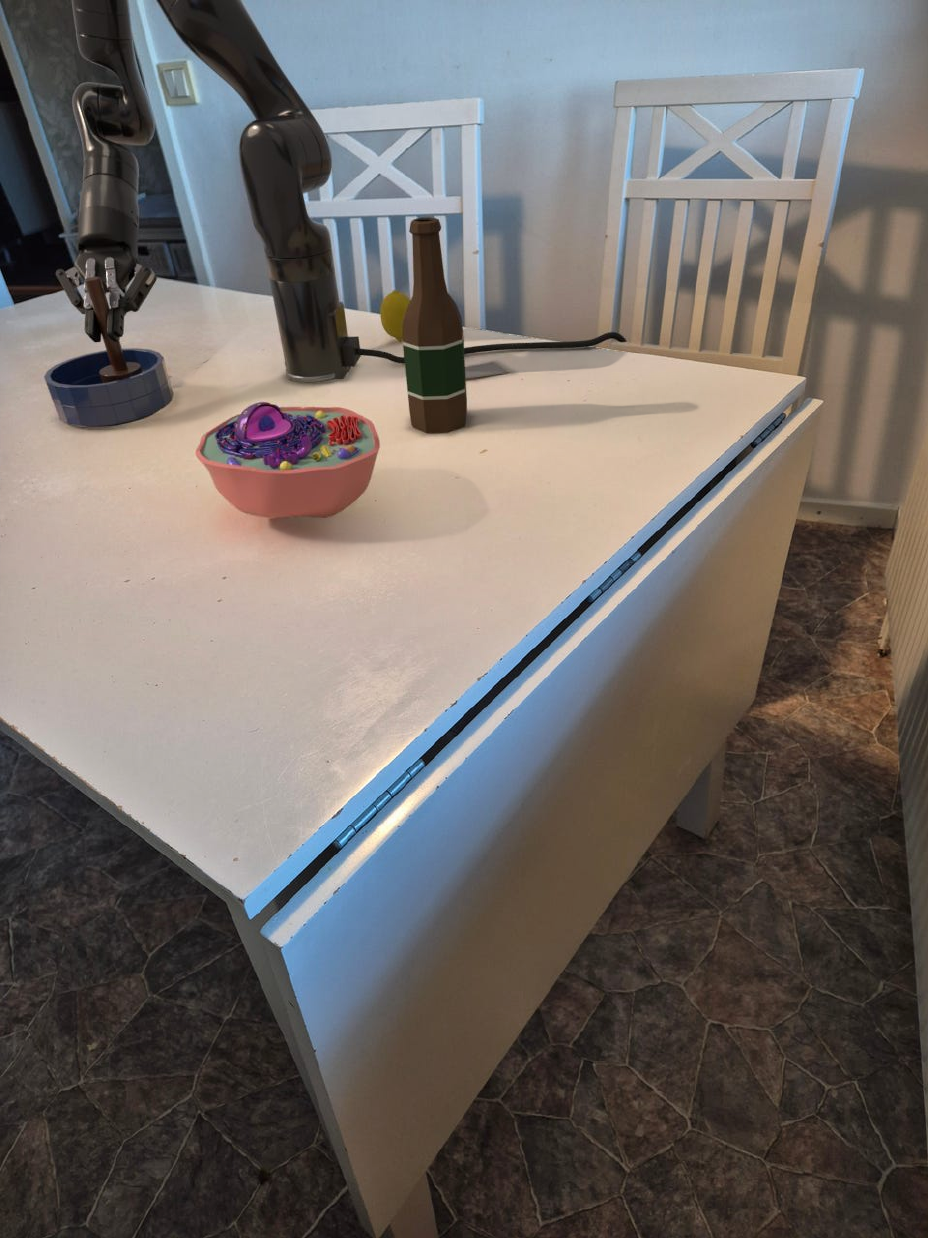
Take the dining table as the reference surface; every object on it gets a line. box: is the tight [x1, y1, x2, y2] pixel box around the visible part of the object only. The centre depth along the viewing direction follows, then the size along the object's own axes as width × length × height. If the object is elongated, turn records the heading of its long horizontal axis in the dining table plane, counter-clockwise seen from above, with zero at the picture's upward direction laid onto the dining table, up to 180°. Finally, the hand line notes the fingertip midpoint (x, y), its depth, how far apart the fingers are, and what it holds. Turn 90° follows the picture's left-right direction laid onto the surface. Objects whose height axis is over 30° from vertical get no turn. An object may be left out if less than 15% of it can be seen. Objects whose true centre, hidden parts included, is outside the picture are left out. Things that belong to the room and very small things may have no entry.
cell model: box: [195, 401, 381, 519], centre depth 85 cm, size 17×20×11 cm
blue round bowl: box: [43, 347, 175, 428], centre depth 113 cm, size 16×16×6 cm
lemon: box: [379, 289, 411, 342], centre depth 131 cm, size 6×6×8 cm
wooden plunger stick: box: [84, 277, 143, 383], centre depth 110 cm, size 6×6×14 cm
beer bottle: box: [402, 216, 468, 434], centre depth 98 cm, size 8×8×24 cm
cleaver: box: [465, 361, 510, 380], centre depth 118 cm, size 13×1×5 cm
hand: (104, 338), depth 109 cm, fingers closed on wooden plunger stick
